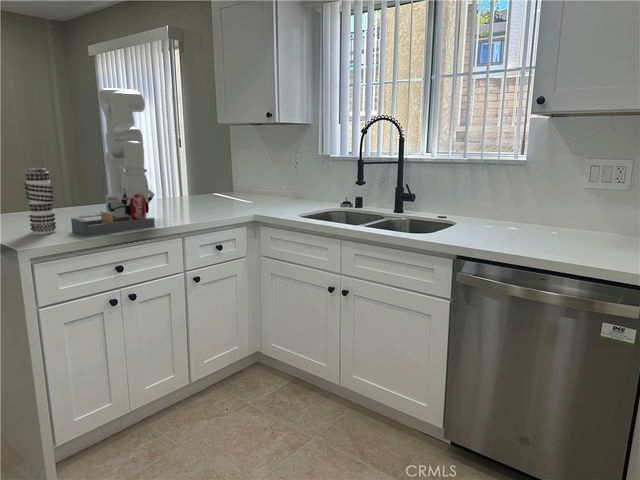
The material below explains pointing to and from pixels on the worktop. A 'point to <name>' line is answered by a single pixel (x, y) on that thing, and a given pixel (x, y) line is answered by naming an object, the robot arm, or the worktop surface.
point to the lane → (109, 225)
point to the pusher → (102, 217)
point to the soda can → (137, 207)
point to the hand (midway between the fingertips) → (137, 213)
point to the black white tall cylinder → (40, 201)
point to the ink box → (115, 206)
